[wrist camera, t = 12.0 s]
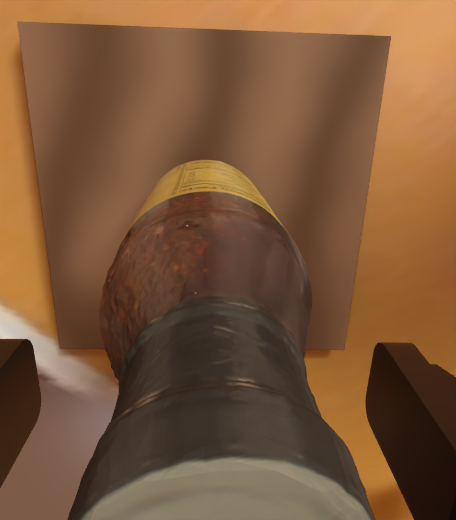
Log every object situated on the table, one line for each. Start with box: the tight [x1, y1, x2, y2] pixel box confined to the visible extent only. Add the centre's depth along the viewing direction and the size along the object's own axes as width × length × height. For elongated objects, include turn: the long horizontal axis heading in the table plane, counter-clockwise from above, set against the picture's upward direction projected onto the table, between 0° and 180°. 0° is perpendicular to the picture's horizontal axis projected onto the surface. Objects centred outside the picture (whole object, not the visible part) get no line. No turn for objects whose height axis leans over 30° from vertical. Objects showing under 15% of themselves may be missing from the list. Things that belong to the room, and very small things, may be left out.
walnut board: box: [17, 22, 391, 350], centre depth 24 cm, size 18×18×2 cm
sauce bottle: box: [68, 160, 375, 520], centre depth 14 cm, size 6×6×20 cm
